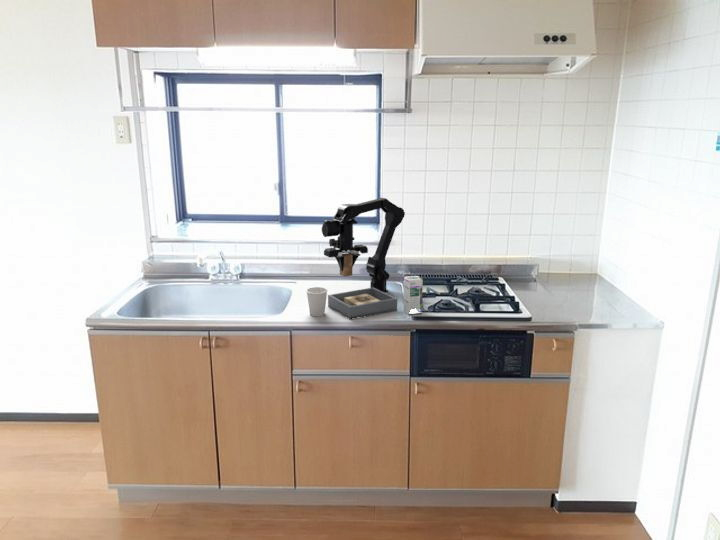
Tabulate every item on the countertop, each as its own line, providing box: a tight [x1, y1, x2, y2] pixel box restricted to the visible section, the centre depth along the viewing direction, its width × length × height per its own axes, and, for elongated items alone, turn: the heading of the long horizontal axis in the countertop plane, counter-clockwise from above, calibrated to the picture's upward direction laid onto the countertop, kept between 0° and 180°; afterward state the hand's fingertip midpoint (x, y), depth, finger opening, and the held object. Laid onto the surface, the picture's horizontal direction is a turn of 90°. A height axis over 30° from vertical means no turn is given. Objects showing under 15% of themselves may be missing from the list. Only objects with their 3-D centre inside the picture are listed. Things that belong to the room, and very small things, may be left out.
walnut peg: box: [339, 253, 353, 277], centre depth 230 cm, size 4×4×9 cm
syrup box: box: [403, 275, 424, 315], centre depth 213 cm, size 6×6×14 cm
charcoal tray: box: [327, 287, 398, 320], centre depth 218 cm, size 22×18×5 cm
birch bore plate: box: [344, 294, 381, 306], centre depth 218 cm, size 11×11×3 cm
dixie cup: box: [305, 286, 328, 317], centre depth 211 cm, size 8×8×10 cm
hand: (346, 270), depth 231 cm, fingers closed on walnut peg, 4 cm apart
